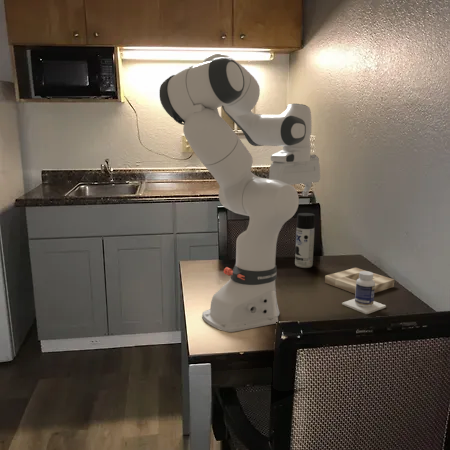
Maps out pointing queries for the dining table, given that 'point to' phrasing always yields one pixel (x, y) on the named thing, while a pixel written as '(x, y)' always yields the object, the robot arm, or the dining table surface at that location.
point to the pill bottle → (365, 289)
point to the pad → (364, 310)
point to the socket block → (349, 276)
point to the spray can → (304, 240)
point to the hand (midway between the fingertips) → (294, 197)
